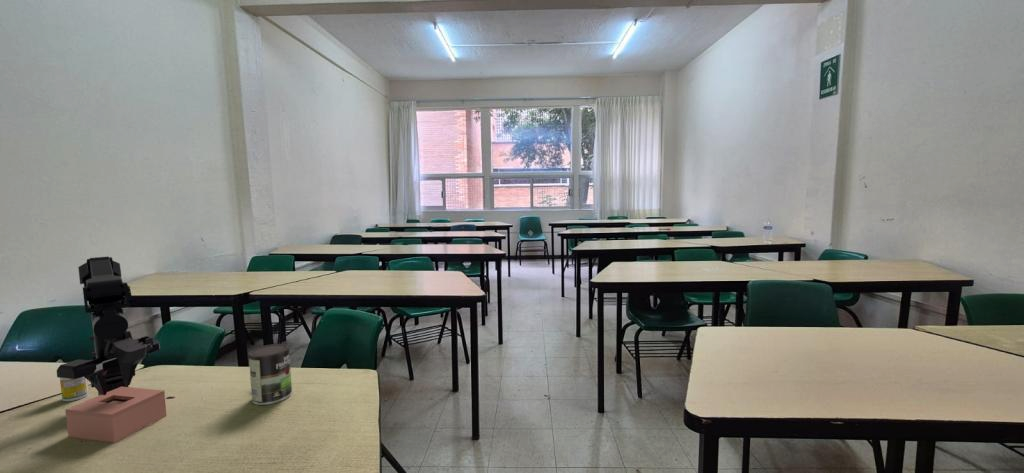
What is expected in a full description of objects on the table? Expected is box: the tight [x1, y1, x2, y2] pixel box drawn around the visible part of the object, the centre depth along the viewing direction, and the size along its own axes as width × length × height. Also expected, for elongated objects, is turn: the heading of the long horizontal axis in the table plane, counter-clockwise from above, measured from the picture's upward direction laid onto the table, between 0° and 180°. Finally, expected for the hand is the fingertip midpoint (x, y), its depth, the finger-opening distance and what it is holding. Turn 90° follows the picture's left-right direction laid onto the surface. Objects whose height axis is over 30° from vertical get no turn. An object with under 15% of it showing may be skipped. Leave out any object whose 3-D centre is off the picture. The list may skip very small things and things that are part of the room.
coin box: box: [64, 387, 167, 443], centre depth 102 cm, size 14×12×7 cm
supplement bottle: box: [59, 377, 90, 402], centre depth 117 cm, size 5×5×10 cm
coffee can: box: [247, 343, 293, 406], centre depth 116 cm, size 10×10×14 cm
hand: (116, 389), depth 101 cm, fingers open, 5 cm apart
